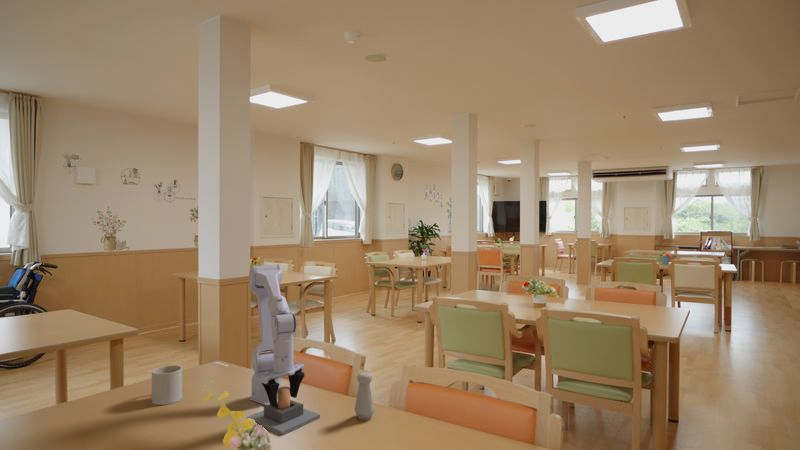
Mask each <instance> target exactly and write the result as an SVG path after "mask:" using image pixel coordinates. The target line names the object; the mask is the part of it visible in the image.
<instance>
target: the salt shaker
mask: <svg viewBox="0 0 800 450" xmlns="http://www.w3.org/2000/svg"><path fill="white" fill-rule="evenodd" d="M356 379H357V382H358V387H357V388H358V389H357V394H356V400H355V405H354V406H355V407H354V412H355V414H356V417H357V418H358V419H359V420H360V421H368V420H370V419H372V417H373V414H374V412H375V406H374V405H375V404H374V399H373V395H372V388H371V383H372V380H373V375H372V374H371V373H370V372H367V371H366V372H365V371H364V372H359V373H358V375H357V378H356Z"/></svg>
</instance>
